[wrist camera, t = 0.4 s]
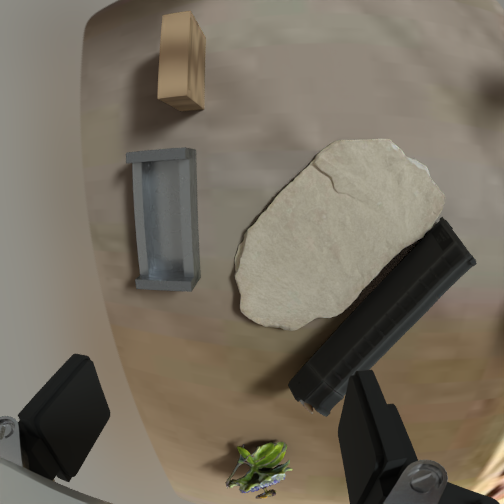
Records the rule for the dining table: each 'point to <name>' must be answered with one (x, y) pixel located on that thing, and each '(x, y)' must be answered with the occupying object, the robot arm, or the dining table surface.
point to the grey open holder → (166, 218)
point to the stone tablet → (333, 232)
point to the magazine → (382, 318)
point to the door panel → (182, 62)
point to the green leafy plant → (261, 468)
